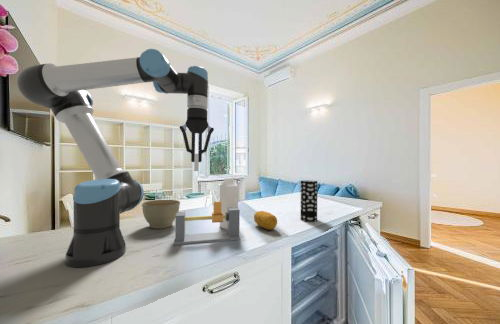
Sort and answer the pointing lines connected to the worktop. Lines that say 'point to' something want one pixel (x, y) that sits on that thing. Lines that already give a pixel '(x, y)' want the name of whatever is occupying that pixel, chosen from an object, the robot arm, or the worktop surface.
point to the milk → (228, 197)
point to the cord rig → (231, 233)
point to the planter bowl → (160, 212)
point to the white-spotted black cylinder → (309, 201)
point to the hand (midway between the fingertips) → (196, 170)
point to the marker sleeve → (217, 213)
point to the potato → (265, 220)
